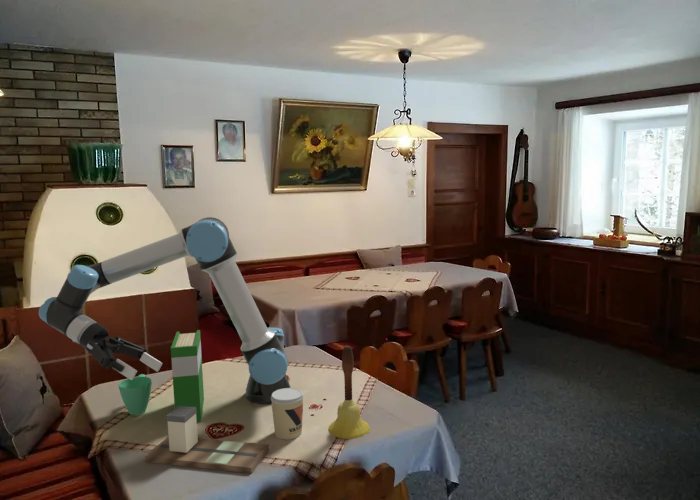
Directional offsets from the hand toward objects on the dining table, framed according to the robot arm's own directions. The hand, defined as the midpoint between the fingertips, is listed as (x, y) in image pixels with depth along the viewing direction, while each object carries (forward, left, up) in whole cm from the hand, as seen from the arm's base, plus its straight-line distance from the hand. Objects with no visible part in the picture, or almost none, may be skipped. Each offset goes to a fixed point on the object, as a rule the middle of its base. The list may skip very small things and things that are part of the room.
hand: (147, 371), depth 152 cm
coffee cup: (-36, +13, -21) cm, 44 cm away
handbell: (-53, +18, -21) cm, 60 cm away
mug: (+3, -24, -21) cm, 32 cm away
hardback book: (-12, -15, -21) cm, 28 cm away
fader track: (-13, +16, -20) cm, 29 cm away
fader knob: (-7, +12, -18) cm, 23 cm away
